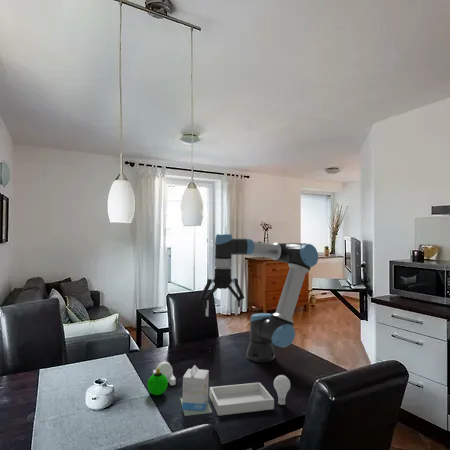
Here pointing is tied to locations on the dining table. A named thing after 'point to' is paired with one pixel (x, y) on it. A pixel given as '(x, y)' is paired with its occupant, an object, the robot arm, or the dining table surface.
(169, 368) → the slotted bracket
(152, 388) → the ornament
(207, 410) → the mat
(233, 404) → the tray
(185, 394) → the ink box
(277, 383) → the lightbulb
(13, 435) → the dining table surface
